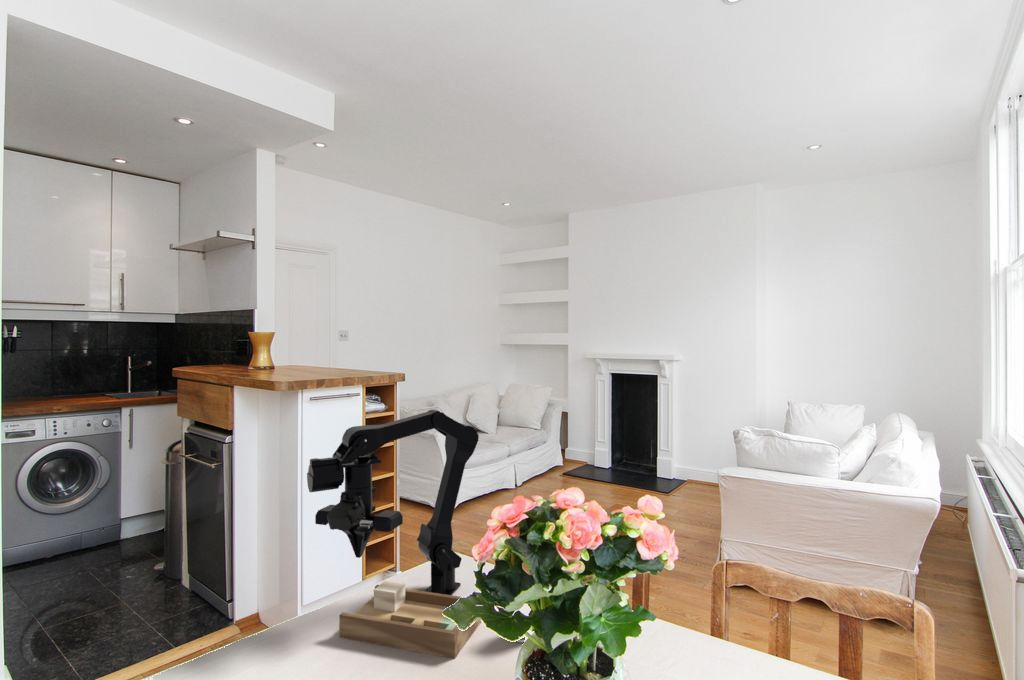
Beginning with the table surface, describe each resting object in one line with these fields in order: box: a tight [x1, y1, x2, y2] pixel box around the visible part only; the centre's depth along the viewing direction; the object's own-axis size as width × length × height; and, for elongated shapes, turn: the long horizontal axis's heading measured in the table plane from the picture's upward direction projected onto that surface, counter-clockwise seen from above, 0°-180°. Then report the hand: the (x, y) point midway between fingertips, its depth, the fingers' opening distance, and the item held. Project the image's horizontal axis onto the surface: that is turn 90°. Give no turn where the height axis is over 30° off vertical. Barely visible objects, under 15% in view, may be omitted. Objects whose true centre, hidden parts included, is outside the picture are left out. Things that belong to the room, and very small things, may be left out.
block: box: [373, 580, 406, 612], centre depth 116 cm, size 4×5×4 cm
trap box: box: [338, 584, 482, 659], centre depth 111 cm, size 14×25×4 cm, turn 72°
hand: (359, 556), depth 118 cm, fingers closed
